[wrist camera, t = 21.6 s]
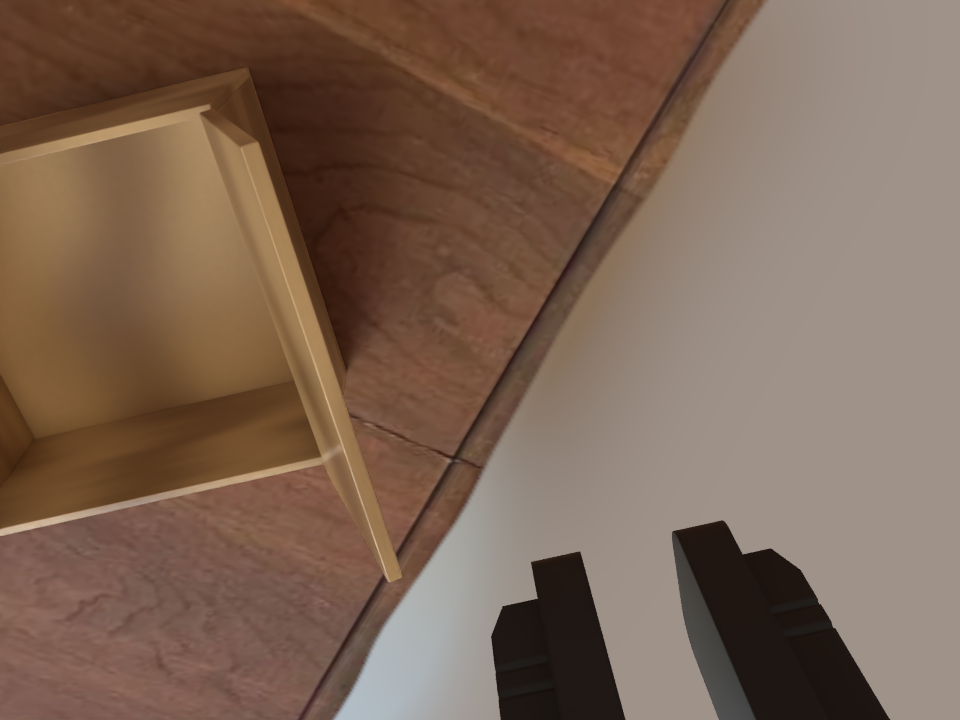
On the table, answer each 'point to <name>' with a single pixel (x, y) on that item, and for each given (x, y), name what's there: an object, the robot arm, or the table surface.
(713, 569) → the robot arm
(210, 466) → the wooden box
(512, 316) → the table surface
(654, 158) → the table surface
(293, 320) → the flap
